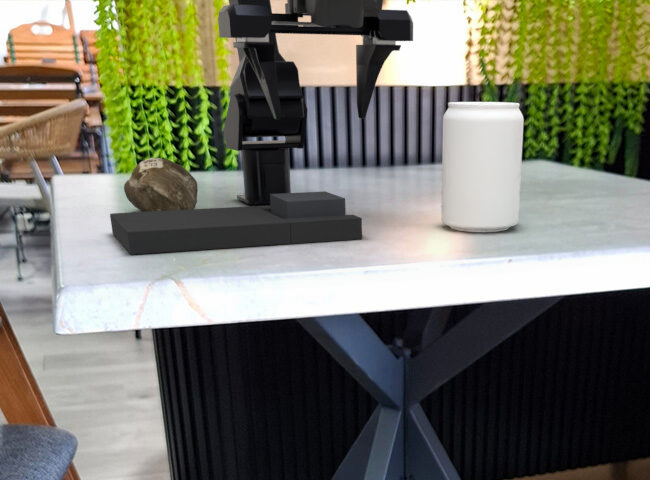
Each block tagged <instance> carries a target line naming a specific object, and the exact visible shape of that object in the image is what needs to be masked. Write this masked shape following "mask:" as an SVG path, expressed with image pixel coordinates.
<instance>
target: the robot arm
mask: <svg viewBox="0 0 650 480" xmlns="http://www.w3.org/2000/svg"><path fill="white" fill-rule="evenodd" d="M286 1H287V2H286V3H284V11H285V13H278V12H277V13H276V12H275V13H274V12H273V10H272V5H271V0H228V3H229V4H227V5H223V6H222V7H221V9H220V10H218V17H217V22H218V37H219V38H226V39H235V41H233V43H232V45H233V49H236V50H237V57H238V62H239V63H238V65H237V68H236V70H235V73H234V76H233V79H232V81H231V84H230V87H229V88H230V89H229V90H230V98H229V102H228V106H227V112H226V117H225V121H224V125H223V137H224V141H225V142H224V143H225V148H226V149H227V150H233V151H237V152H240V151H241V163H242V175H243V176H242V177H243V189H244V194H237V195H236V199H237V200H239V201H241V202H243V203H245V204H247V205H250V206H254V205H271V204H270V194H281V193H292V187H291V185H292V184H291V168H290V151H289V150H290V149H299V150H300V149H301V150H302V149H304V148H305V141H306V131H307V119H308V107H307V104H306V100H305V97H304V95H303V92H302V88H301V84H300V76H299V69H298V67H297V65H296V63H295V62H294V61H291V60H289V61H288V60H286V58H284V57H283V55H282V54H281V53H280V50H279V46H278V45H279V44H278V40H277V39H278V38H277V34H285V35H286V34H288V35H289V34H291V35H326V36H327V35H329V36H330V35H334V36H360V37H361V38H362V44H356V45H355V63H356V64H355V67H356V68H355V72H356V73H355V76H356V77H355V78H356V79H355V80H356V82H355V83H356V109H357V117H358V118H359V119H365V118H366V117H367V114H368V110H369V106H370V103H371V100H372V97H373V94H374V90H375V87H376V84H377V81H378V78H379V75H380V73H381V72H382V71H381V70H382V68H383V66H384V65H385V62H386V60H387V59H388V58H389V57H390V55H391V53H393V52H395V51H396V52H397V51H400V50H401V47H402V45H401V44H396V43H397V42H413V41H414V21H413V18H412V16H411V14H410V13H409V11H408V10H407V9H404V10H403V9H383V5H384V4H383V3H384V0H286ZM305 16H307V17H310V21H299V18H304V17H305ZM273 137H275V138H276V137H284V138H285V139H283V140H282V139H281V140H250V141H249V140H248V141H247V140H246V141H245V140H244V138H273Z"/></svg>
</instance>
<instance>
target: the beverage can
mask: <svg viewBox="0 0 650 480" xmlns="http://www.w3.org/2000/svg"><path fill="white" fill-rule="evenodd" d="M520 106H521V105H520V103H519V102H508V101H507V102H506V101H451V102H450V101H449V102H447V109H446V110H445V112H444V114H443V117H442V146H441V147H442V149H441V150H442V152H441V153H442V154H441V209H440V210H441V213H440V215H441V223H442V224H444V225H446V226H448V227H449V228H450V229H451V230H454V231H455V230H456V231H460V232H469V233H496V232H502V231H507V230H509V229H510V228H511V227H513V226H516V225H517V224H519V218H520V198H521V181H522V180H521V179H522V163H523V162H522V159H523V143H524V121H525V120H524V115H523V113H522V111H521V110H520Z"/></svg>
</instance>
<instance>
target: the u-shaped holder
mask: <svg viewBox="0 0 650 480" xmlns="http://www.w3.org/2000/svg"><path fill="white" fill-rule="evenodd" d="M109 218H110V226H111V232H112V235H113V236H114V237H115V239H116V240H117V241H118V242H119V243H120V244H121V245H122V247H123V248H124V249H125V250H126V251H127V253H129V255H131V256H134V255H149V254H162V253H164V254H165V253H177V252H178V253H179V252H193V251H207V250H208V251H209V250H223V249H236V248H250V247H264V246H265V247H266V246H279V245H294V244H297V245H298V244H309V243H323V242H324V243H325V242H339V241H340V242H341V241H353V240H355V241H356V240H363V218H362V217H361V216H357V215H355V214H346V215H338V216H321V217H303V218H286V219H282V218H280V217H278V216H276V215H274V214H271V204H264V205H250V206H249V205H247V206H232V207H231V206H229V207H210V208H194V209H189V210H170V211H151V212H142V211H136V212H135V211H134V212H116V213H109Z"/></svg>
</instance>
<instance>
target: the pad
mask: <svg viewBox="0 0 650 480" xmlns="http://www.w3.org/2000/svg"><path fill="white" fill-rule="evenodd" d="M269 205H271V214H274V215H276V216H278V217H280V218H282V219H286V218H303V217H321V216H338V215H347V214H346V212H347V211H346V210H347V209H346V198H345V197H342V196H339V195H337V194H334V193H331V192H329V191H306V192H304V191H303V192H291V193H281V194H270V204H269Z"/></svg>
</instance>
